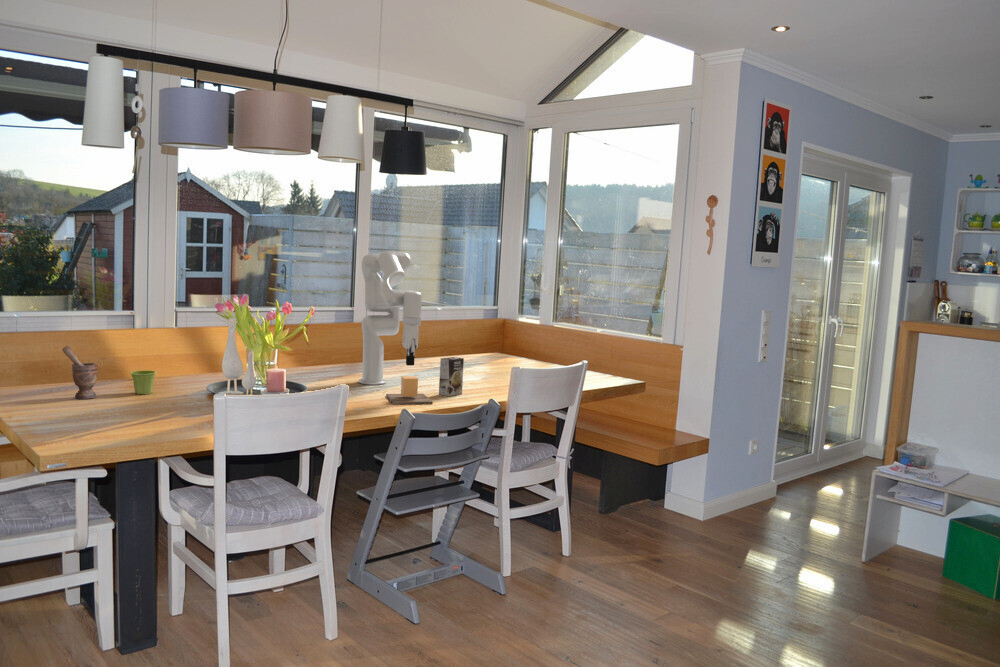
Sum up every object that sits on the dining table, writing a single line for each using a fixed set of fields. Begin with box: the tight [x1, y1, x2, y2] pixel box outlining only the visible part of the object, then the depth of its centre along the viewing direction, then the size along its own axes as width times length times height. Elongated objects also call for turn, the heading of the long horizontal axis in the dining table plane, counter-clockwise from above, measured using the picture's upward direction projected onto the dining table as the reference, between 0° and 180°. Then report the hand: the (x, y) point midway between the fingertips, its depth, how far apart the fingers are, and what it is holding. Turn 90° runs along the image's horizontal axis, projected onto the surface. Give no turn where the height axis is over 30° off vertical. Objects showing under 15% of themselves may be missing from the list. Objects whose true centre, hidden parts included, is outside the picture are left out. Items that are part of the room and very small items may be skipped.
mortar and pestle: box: [62, 345, 98, 400], centre depth 294 cm, size 12×9×20 cm
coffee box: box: [438, 356, 465, 397], centre depth 338 cm, size 9×6×16 cm
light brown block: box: [400, 375, 419, 397], centre depth 321 cm, size 6×6×8 cm
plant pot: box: [130, 370, 157, 395], centre depth 308 cm, size 9×9×9 cm
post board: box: [385, 393, 433, 406], centre depth 321 cm, size 18×16×9 cm
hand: (410, 365), depth 320 cm, fingers closed
